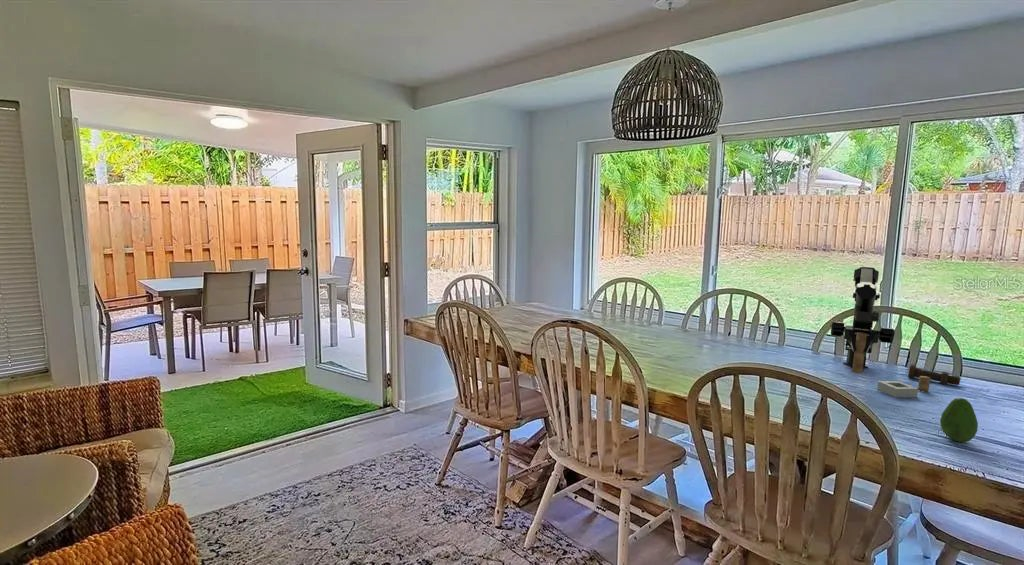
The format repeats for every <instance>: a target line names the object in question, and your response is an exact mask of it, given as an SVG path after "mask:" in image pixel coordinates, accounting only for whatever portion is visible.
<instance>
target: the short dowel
mask: <svg viewBox="0 0 1024 565" xmlns="http://www.w3.org/2000/svg"><path fill="white" fill-rule="evenodd" d="M930 384H931V379H930V377H926V376H920V378H919V380H918V384H917V386H918V390H920V391H919V392H921V391H924V392H923V393H929V392H928V391H930Z"/></svg>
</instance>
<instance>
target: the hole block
mask: <svg viewBox="0 0 1024 565" xmlns="http://www.w3.org/2000/svg"><path fill="white" fill-rule="evenodd" d="M876 390H877V391H879V392H882V393H884V394H886V395H889V396H891V397H894V398H896V399H897V398H918V392H919V391H918V388H917V387H915V386H913V385H910V384H908V383H905V382H902V381H899V380H887V381H886V380H878V382H877V387H876Z"/></svg>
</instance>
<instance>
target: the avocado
mask: <svg viewBox="0 0 1024 565" xmlns="http://www.w3.org/2000/svg"><path fill="white" fill-rule="evenodd" d="M939 423H940V427H941V428H940V429H941V431H942V432H943V433H944V434H945V435H946V437H948V438H949V439H951V440H953V441H955V442H957V443H965V442H969V441H971V440H973V439H974V438H975V436H976V434H977V432H978V428H979V423H978V418H977V414H976V413H975V409H974V407H973V406H972V404H971V403H970V401H969V400H968V399H966V398H963V397H957V398H954V399H953V400H951V401H950V402H949V403H948V404H947V406H946V407H945V409H944V410H943V411H942V413H941V417H940V420H939Z"/></svg>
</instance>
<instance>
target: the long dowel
mask: <svg viewBox="0 0 1024 565" xmlns="http://www.w3.org/2000/svg"><path fill="white" fill-rule="evenodd" d="M866 338H867V334H866V333H862V332H857V336H856V344H855V352H854V360H853V367H851V368H852V369H851V370H852V371H851V372H852V373H854V374H863V371H864V370H863V369H864V368H863V362H864V354H865V346H866Z"/></svg>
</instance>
